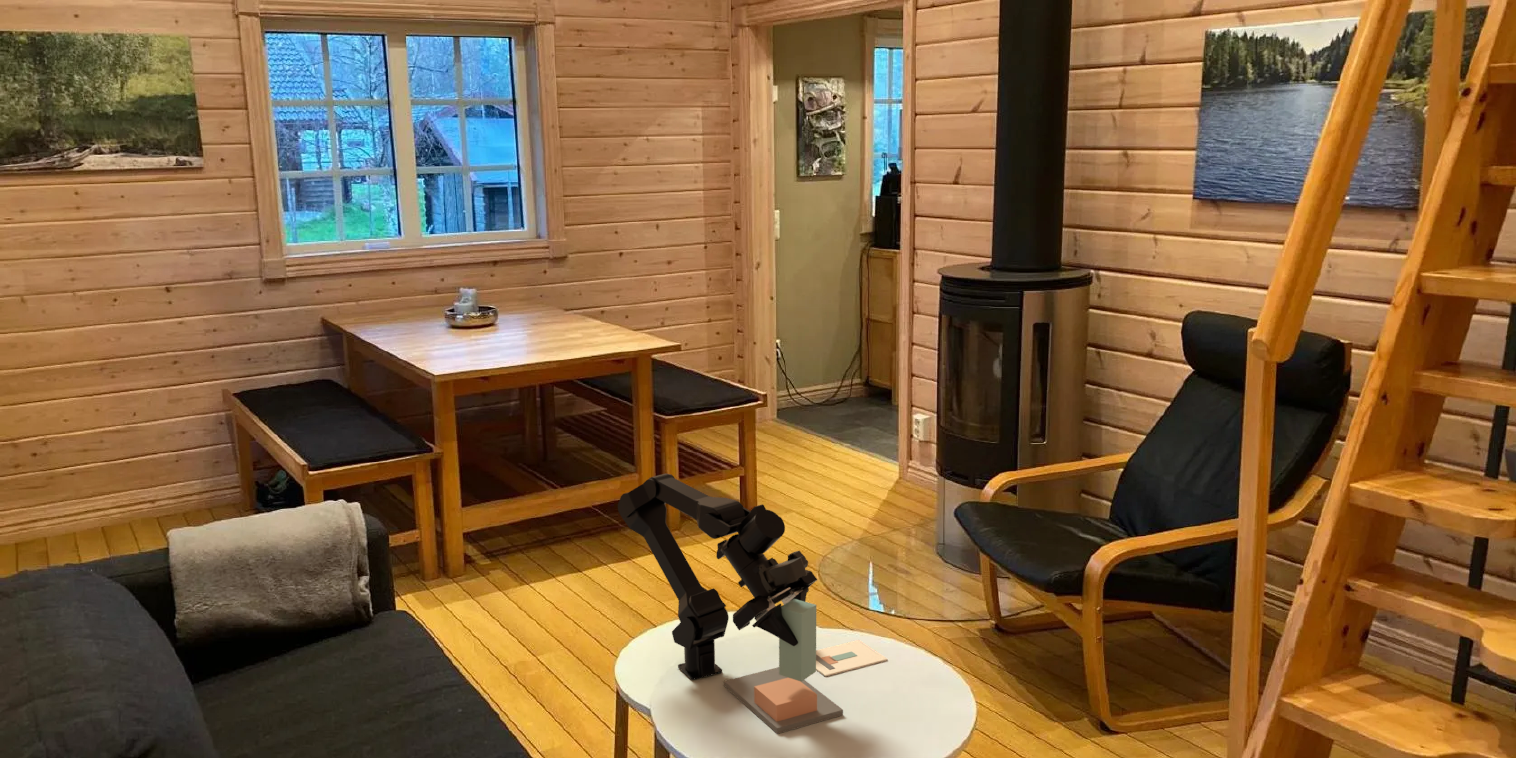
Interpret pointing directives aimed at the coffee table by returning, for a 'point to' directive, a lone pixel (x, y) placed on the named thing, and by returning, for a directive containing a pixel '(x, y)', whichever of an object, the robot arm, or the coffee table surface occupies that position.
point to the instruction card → (846, 657)
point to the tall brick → (799, 641)
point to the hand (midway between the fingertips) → (804, 639)
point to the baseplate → (788, 724)
